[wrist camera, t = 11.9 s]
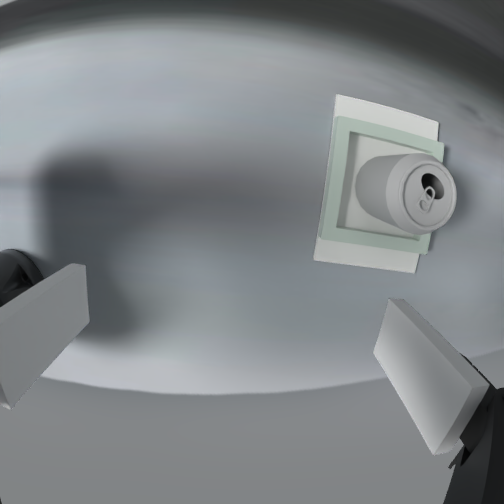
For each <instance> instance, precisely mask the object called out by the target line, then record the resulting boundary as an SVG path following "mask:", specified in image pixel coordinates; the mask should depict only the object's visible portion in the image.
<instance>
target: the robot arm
mask: <svg viewBox="0 0 504 504" xmlns="http://www.w3.org/2000/svg"><path fill="white" fill-rule="evenodd" d="M89 322H90V318H89V308H88V295H87V280H86V265H81V264H74V263H71V264H69V265H67V266H66V267H64V268H62V269H61V270H59V271H57V272H56V273H54V274H52V275H51V276H49V277H47V278H46V279H43V277H42V275H41V273H40V272H39V270H38V269H37V267H36V266H35V265H34V264H33V262H32V261H31V260H30V259H29V258H28V257H26V256H25V255H24V254H22V253H20V252H18V251H16V250H12V249H7V250H3V251H1V252H0V405H2V406H4V407H6V408H8V409H10V410H11V409H12V408H13V407H14V406H15V404H16V403H17V402H18V401H19V400H20V398H21V397H22V396H23V395H24V394H25V393H26V392H27V390H28V389H29V388H30V387H31V386H32V385H33V383H34V382H35V381H36V380H37V379H38V378H39V377H40V376H41V374H42V373H43V372H44V371H45V370H46V369H47V368H48V367H49V365H50V364H51V363H52V362H53V361H54V360H55V359H56V358H57V357H58V356H59V354H60V353H61V352H62V351H63V350H64V349H65V348H66V347H67V346H68V345H69V344H70V343H71V341H72V340H73V339H74V338H75V337H76V336H77V335H78V334H79V333H80V332H81V331H82V330H83V329H84V328H85V327H86V326H87V325H88V324H89ZM373 354H374V355H375V357H376V358H377V360H378V362H379V363H380V365H381V367H382V368H383V370H384V371H385V373H386V375H387V376H388V378H389V380H390V381H391V383H392V385H393V386H394V388H395V390H396V391H397V393H398V395H399V397H400V398H401V400H402V402H403V403H404V405H405V407H406V408H407V410H408V412H409V413H410V415H411V417H412V419H413V421H414V422H415V424H416V426H417V428H418V429H419V431H420V433H421V435H422V436H423V438H424V440H425V442H426V444H427V445H428V447H429V449H430V451H431V452H432V454H433V455H437V454H442V453H446V452H449V451H451V450H452V449H453V447H454V446H455V444H456V443H457V441H458V439H459V438H460V439H461V440H462V442H463V444H464V446H463V447H462V449H461V450H460V451H459V453H458V454H457V456H456V457H455V459H454V460H453V461H452V462H451V464H450V465H449V467H448V468H450V469H451V468H452V466H453V465H454V464H456V465H455V469H454V472H453V476H452V479H451V482H450V485H449V488H448V491H447V494H446V497H445V500H444V503H443V504H504V388H499V389H496V388H495V387H494V386H493V385H492V384H491V383H490V382H489V381H488V380H487V378H485V376H484V375H483V374H482V373H481V372H480V371H478V369H477V368H476V367H475V366H473V365H472V363H471V362H470V361H469V360H468V359H467V358H466V357H465V356H463V355H462V354H460V353H459V352H458V351H457V350H456V349H455V348H454V347H453V346H452V345H451V344H450V343H449V342H448V341H447V340H446V339H445V338H444V337H443V336H441V335H440V334H439V333H438V332H437V331H436V330H435V329H434V328H433V327H432V326H431V325H430V324H429V323H428V322H427V321H426V320H425V319H424V318H423V317H422V316H421V315H420V314H419V313H418V312H416V311H415V310H414V309H413V308H412V307H411V306H410V305H409V304H408V303H407V302H406V301H405V300H404V299H391V298H389V300H388V303H387V307H386V311H385V315H384V318H383V322H382V325H381V329H380V332H379V335H378V339H377V342H376V345H375V348H374V351H373ZM0 504H2V503H1V499H0Z"/></svg>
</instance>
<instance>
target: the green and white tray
mask: <svg viewBox="0 0 504 504" xmlns="http://www.w3.org/2000/svg"><path fill="white" fill-rule="evenodd" d="M438 124H439V122H436V121H433V120H430V119H427V118H424V117H421V116H418V115H415V114H412V113H408V112H405V111H402V110H398V109H395V108H391V107H388V106H384V105H380V104H377V103H373V102H369V101H365V100H360V99H356V98H352V97H347V96H343V95H338V94H337V95H336V98H335V107H334V117H333V126H332V134H331V142H330V150H329V158H328V166H327V173H326V180H325V187H324V194H323V201H322V207H321V214H320V220H319V226H318V232H317V238H316V244H315V250H314V256H313V260H314V261H322V262H330V263H338V264H346V265H354V266H362V267H369V268H377V269H385V270H393V271H401V272H409V273H415V270H416V266H417V262H418V258H419V254H424V255H427V251H428V247H429V242H430V237H431V233H429V234H423V235H416V234H412V233H408V232H406V231H404V230H401V229H399V228H397V227H395V226H393V225H390V224H388V223H386V222H384V221H381V220H379V219H377V218H375V217H373V216H371V215H370V214H368V213H366V211H365V210H364V209H363V208H362V207H361V206H360V204H359V201H358V199H357V197H356V191H355V183H356V177H357V174H358V172H359V170H360V168H361V167H362V166H363V165H364V164H365V163H366V162H367V161H368V160H370V159H372V158H374V157H377V156H388V155H400V154H413V153H425V154H428V155H431V156H434V157H435V158H436V159H437V160H439V161H440V162H441V163H443V153H444V143H441V142H438V141H437V138H438Z"/></svg>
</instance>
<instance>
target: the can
mask: <svg viewBox="0 0 504 504" xmlns="http://www.w3.org/2000/svg"><path fill="white" fill-rule="evenodd" d="M355 191H356V197H357V199H358V201H359V204H360V206H361V207H362V208H363V209H364V210H365V211H366V213H368V214H370V215H371V216H373V217H375V218H377V219H379V220H381V221H384V222H386V223H388V224H390V225H393V226H395V227H397V228H399V229H401V230H404V231H406V232H408V233H412V234H416V235H423V234H429V233H431V232H433V231H435V230H437V229H438V228H440V227H442V226H444V225H445V224H446V222H447V221H448V220H449V219H450V218H451V216H452V214H453V212H454V209H455V206H456V200H457V192H456V185H455V182H454V179H453V177H452V175H451V174H450V172H449V171H448V169H447V168H446V167H444V165H443V164H442V163H441V162H440V161H439V160H437V159H436V158H435V157H434V156H431V155H428V154H425V153H413V154H400V155H388V156H377V157H374V158H372V159H370V160H368V161H367V162H366V163H365V164H364V165H363V166H362V167H361V168H360V170H359V172H358V174H357V177H356V183H355Z"/></svg>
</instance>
